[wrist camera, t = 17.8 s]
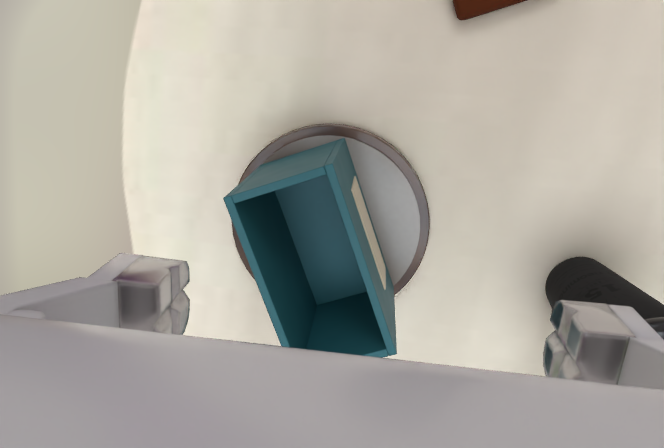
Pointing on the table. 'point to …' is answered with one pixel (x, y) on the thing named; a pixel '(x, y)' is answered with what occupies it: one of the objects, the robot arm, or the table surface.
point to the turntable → (369, 192)
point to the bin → (316, 253)
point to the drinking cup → (601, 289)
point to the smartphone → (480, 7)
